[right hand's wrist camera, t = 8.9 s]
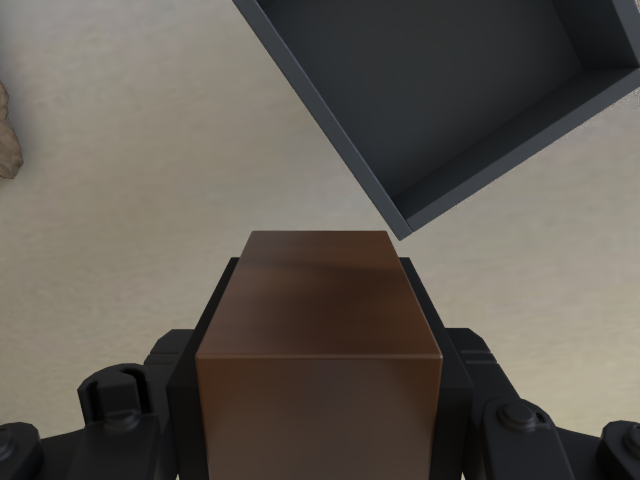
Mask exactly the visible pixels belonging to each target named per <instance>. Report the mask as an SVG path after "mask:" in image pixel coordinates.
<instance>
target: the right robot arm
mask: <svg viewBox="0 0 640 480" xmlns="http://www.w3.org/2000/svg"><path fill="white" fill-rule="evenodd" d="M398 258H399V260H400V262H401V265H402V267H403V269H404V271H405V273H406V276H407V278H408V280H409V282H410V284H411V287H412V289H413V291H414V293H415V296H416V298H417V300H418V302H419V304H420V307H421V309H422V311H423V313H424V316H425V318H426V320H427V322H428V324H429V327H430V329H431V331H432V333H433V335H434V338H435V340H436V342H437V344H438V347H439V349H440V351H441V353H442V356H443V361H442V370H441V378H440V387H439V395H438V404H437V412H436V421H435V429H434V438H433V446H432V455H431V464H430V472H429V480H461V477H462V472H463V475H464V477H465V480H640V423H637V422H631V421H622V420H620V421H614V422H609V423H608V424H607V425H606V426H605V427H604V428H603V430H602V434H601V437H600V438H599V437H595V436H591V435H586V434H582V433H578V432H573V431H569V430H566V429H563V428H559V427H556V426H555V424H554V423H553V421H552V420H551V418H550V416H549V415H548V414H547V413H546V412H545V411H543V410H542V409H541V408H540V407H538V406H537V405H535V404H533V403H531V402H529V401H527V400H524V399H521V398H520V397H519V395H518V394H517V392H516V390H515V389H514V387H513V386H512V384H511V383H510V381H509V379H508V378H507V376H506V375H505V373H504V372H503V370H502V368H501V367H500V365H499V364H497V361H496V359H495V357H494V356H493V354H492V353H490V350H489V348H488V346H487V345H486V343H485V342H484V340H483V339H482V338H481V337H480V336H478V335H477V334H476V333H474V332H473V331H472V330H470V329H469V328H445V327H444V325H443V323H442V321H441V319H440V317H439V315H438V313H437V311H436V309H435V307H434V305H433V303H432V301H431V300H430V298H429V296H428V294H427V292H426V290H425V288H424V286H423V284H422V282H421V280H420V278H419V276H418V274H417V272H416V270H415V268H414V266H413V264H412V262H411V260H410V258H409V257H398ZM239 259H240V257H231V259H230V261H229V263H228V265H227V267H226V269H225V271H224V273H223V275H222V276H221V278H220V280H219V282H218V284H217V286H216V288H215V290H214V292H213V294H212V296H211V298H210V300H209V302H208V304H207V306H206V308H205V310H204V312H203V314H202V316H201V318H200V320H199V322H198V324H197V326H196V328H195V329H172V330H171V331H169V332H168V333H167V334H165V335H164V336H163V337H161V338H160V339H159V340H158V341H157V342H156V344H155V345H154V347H153V349H152V350H151V352H150V355H148V356H147V358H146V360H145V361H144V365H139V364H136V363H125V364H118V365H114V366H109V367H107V368H104V369H102V370H100V371H98V372H95V373H94V374H92V375H91V376H90V377H88V378H87V379H85V380H84V381H83V382H82V384H81V385H80V386H79V388H78V389H77V391H78V396H79V400H80V404H81V408H82V413H83V417H84V421H85V427H84V429H80V430H77V431H74V432H70V433H66V434H62V435H57V436H53V437H49V438H44V439H40V436H39V432H38V430H37V429H36V428H35V427H34V426H33V425H32V424H28V423H23V422H16V423H8V424H4V425H1V426H0V480H176V478H177V475H179V480H209V472H208V464H207V455H206V447H205V438H204V430H203V421H202V413H201V404H200V396H199V387H198V379H197V370H196V361H195V356H196V353H197V351H198V349H199V347H200V344H201V342H202V340H203V338H204V336H205V333H206V331H207V329H208V327H209V325H210V322H211V320H212V318H213V316H214V314H215V311H216V309H217V307H218V305H219V303H220V300H221V298H222V296H223V294H224V292H225V289H226V287H227V285H228V283H229V281H230V278H231V276H232V274H233V272H234V270H235V267H236V265H237V263H238V261H239Z"/></svg>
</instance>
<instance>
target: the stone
mask: <svg viewBox="0 0 640 480" xmlns="http://www.w3.org/2000/svg"><path fill="white" fill-rule="evenodd" d="M8 98H9V95H8V93H7V91H6V89H5V88H4V86H3V84H2V82H1V81H0V176H1V177H3V178H8V179H14V177H15V176H16V175H17V173H18V171H19V168H20V167H21V165H22V164H23V159H22V157H21V148H20V144H19V142H18V139H17V137H16V134H15V132H14V130H13V127H12V126H11V124H10V122H9V119H8V108H7V103H8Z"/></svg>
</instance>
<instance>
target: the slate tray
mask: <svg viewBox="0 0 640 480" xmlns="http://www.w3.org/2000/svg"><path fill="white" fill-rule="evenodd" d="M232 1H233V2H234V4H235V5H236V7H237V8H238V10H239V11H240V13H241V14H242V15H243V17H244V18H245V20H246V21H247V23H248V24H249V25H250V27H251V28H252V30H253V31H254V33H255V34H256V36H257V37H258V38H259V40H260V41H261V43H262V44H263V46H264V47H265V49H266V50H267V51H268V53H269V54H270V56H271V57H272V59H273V60H274V61H275V63H276V64H277V66H278V67H279V69H280V70H281V72H282V73H283V74H284V76H285V77H286V79H287V80H288V82H289V83H290V85H291V86H292V87H293V89H294V90H295V92H296V93H297V95H298V96H299V97H300V99H301V100H302V102H303V103H304V105H305V106H306V108H307V109H308V110H309V112H310V113H311V115H312V116H313V118H314V119H315V120H316V122H317V123H318V125H319V126H320V128H321V129H322V131H323V132H324V133H325V135H326V136H327V138H328V139H329V141H330V142H331V144H332V145H333V146H334V148H335V149H336V151H337V152H338V154H339V155H340V156H341V158H342V159H343V161H344V162H345V164H346V165H347V167H348V168H349V169H350V171H351V172H352V174H353V175H354V177H355V178H356V180H357V181H358V182H359V184H360V185H361V187H362V188H363V190H364V191H365V192H366V194H367V195H368V197H369V198H370V200H371V201H372V203H373V204H374V205H375V207H376V208H377V210H378V211H379V213H380V214H381V215H382V217H383V218H384V220H385V221H386V223H387V224H388V226H389V227H390V228H391V230H392V231H393V233H394V234H395V236H396V237H397V239H398V240H399V241H401V240H402V239H404V238H406V237H407V236H409V235H410V234H412V233H413V232H415V231H416V230H418V229H419V228H421V227H423V226H424V225H426V224H427V223H429V222H430V221H432V220H433V219H435V218H436V217H438V216H440V215H441V214H443V213H444V212H446V211H447V210H449V209H450V208H452V207H454V206H455V205H457V204H458V203H460V202H461V201H463V200H464V199H466V198H467V197H469V196H471V195H472V194H474V193H475V192H477V191H478V190H480V189H481V188H483V187H485V186H486V185H488V184H489V183H491V182H492V181H494V180H495V179H497V178H498V177H500V176H502V175H503V174H505V173H506V172H508V171H509V170H511V169H512V168H514V167H516V166H517V165H519V164H520V163H522V162H523V161H525V160H526V159H528V158H529V157H531V156H533V155H534V154H536V153H537V152H539V151H540V150H542V149H543V148H545V147H546V146H548V145H550V144H551V143H553V142H554V141H556V140H557V139H559V138H560V137H562V136H564V135H565V134H567V133H568V132H570V131H571V130H573V129H574V128H576V127H577V126H579V125H581V124H582V123H584V122H585V121H587V120H588V119H590V118H591V117H593V116H595V115H596V114H598V113H599V112H601V111H602V110H604V109H605V108H607V107H608V106H610V105H612V104H613V103H615V102H616V101H618V100H619V99H621V98H622V97H624V96H626V95H627V94H629V93H630V92H632V91H633V90H635V89H636V88H638V87H639V86H640V13H639V10H638V8H637V5H636V3H635V1H634V0H232ZM412 231H413V232H412Z"/></svg>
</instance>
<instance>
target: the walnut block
mask: <svg viewBox="0 0 640 480" xmlns="http://www.w3.org/2000/svg"><path fill="white" fill-rule="evenodd" d="M195 361H196V370H197V379H198V387H199V396H200V404H201V413H202V421H203V430H204V438H205V447H206V455H207V464H208V472H209V480H429V472H430V464H431V455H432V446H433V438H434V429H435V421H436V412H437V404H438V395H439V387H440V378H441V370H442V361H443V356H442V353H441V351H440V349H439V347H438V344H437V342H436V340H435V338H434V335H433V333H432V331H431V329H430V327H429V324H428V322H427V320H426V318H425V316H424V313H423V311H422V309H421V307H420V304H419V302H418V300H417V298H416V296H415V293H414V291H413V289H412V287H411V284H410V282H409V280H408V278H407V276H406V273H405V271H404V269H403V267H402V265H401V262H400V260H399V258H398V256H397V253H396V251H395V249H394V247H393V245H392V242H391V240H390V238H389V236H388V234H387V231H252V232H251V235H250V237H249V239H248V241H247V243H246V245H245V248H244V250H243V252H242V254H241V256H240V259H239V261H238V263H237V265H236V267H235V270H234V272H233V274H232V276H231V278H230V281H229V283H228V285H227V287H226V289H225V292H224V294H223V296H222V298H221V300H220V303H219V305H218V307H217V309H216V311H215V314H214V316H213V318H212V320H211V322H210V325H209V327H208V329H207V331H206V333H205V336H204V338H203V340H202V342H201V344H200V347H199V349H198V351H197V353H196V356H195Z"/></svg>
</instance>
